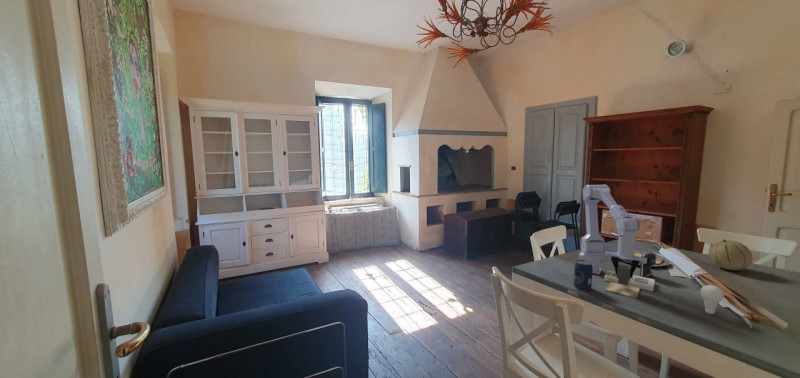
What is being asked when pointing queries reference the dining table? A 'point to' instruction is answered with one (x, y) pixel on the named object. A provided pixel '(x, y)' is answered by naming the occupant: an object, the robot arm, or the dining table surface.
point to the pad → (623, 289)
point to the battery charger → (647, 265)
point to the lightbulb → (711, 297)
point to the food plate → (659, 260)
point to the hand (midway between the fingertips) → (624, 275)
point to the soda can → (583, 275)
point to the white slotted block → (632, 281)
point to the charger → (623, 274)
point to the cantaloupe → (731, 255)
